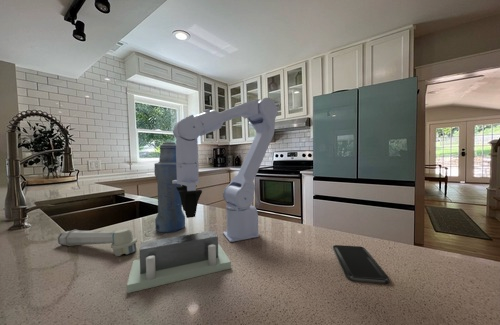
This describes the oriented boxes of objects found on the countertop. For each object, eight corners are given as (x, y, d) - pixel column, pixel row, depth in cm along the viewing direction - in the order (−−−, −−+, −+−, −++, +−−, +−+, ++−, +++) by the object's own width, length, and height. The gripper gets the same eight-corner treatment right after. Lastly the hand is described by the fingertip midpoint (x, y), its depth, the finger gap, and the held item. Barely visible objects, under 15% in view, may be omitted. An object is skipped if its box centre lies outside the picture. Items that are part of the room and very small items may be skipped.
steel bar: (214, 250, 52) (213, 230, 51) (218, 257, 48) (217, 236, 48) (141, 264, 45) (141, 242, 45) (140, 274, 42) (139, 249, 41)
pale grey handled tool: (74, 228, 63) (139, 222, 56) (77, 249, 63) (142, 247, 56) (53, 234, 58) (122, 229, 51) (57, 257, 58) (126, 256, 51)
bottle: (157, 225, 76) (154, 143, 75) (185, 222, 79) (183, 143, 78) (153, 234, 67) (150, 141, 66) (185, 230, 70) (183, 141, 69)
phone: (347, 277, 41) (332, 244, 56) (347, 282, 41) (332, 248, 56) (392, 281, 39) (364, 246, 54) (392, 286, 39) (364, 250, 54)
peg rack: (219, 249, 55) (218, 229, 55) (231, 268, 46) (230, 244, 46) (133, 266, 47) (132, 242, 47) (127, 293, 38) (125, 264, 38)
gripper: (170, 163, 61) (171, 208, 62) (173, 165, 48) (174, 223, 49) (194, 162, 64) (196, 206, 65) (204, 164, 51) (205, 219, 51)
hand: (188, 213), depth 57 cm, fingers open, 7 cm apart
